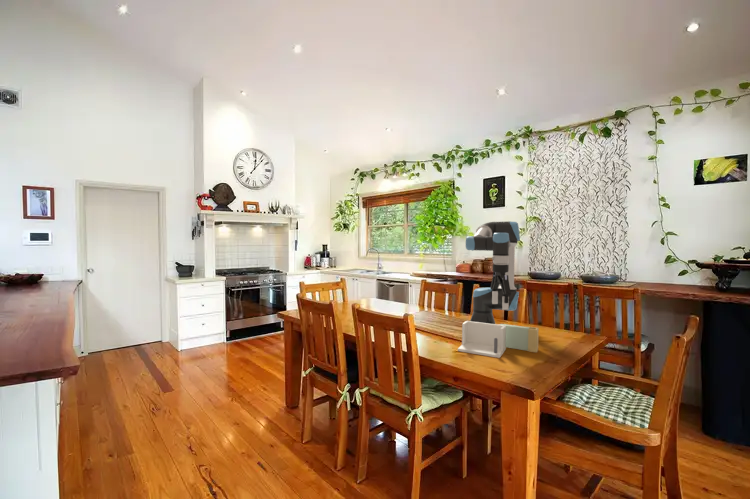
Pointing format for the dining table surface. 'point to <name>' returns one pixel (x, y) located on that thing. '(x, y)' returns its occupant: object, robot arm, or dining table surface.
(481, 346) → the box
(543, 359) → the dining table surface
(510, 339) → the door
